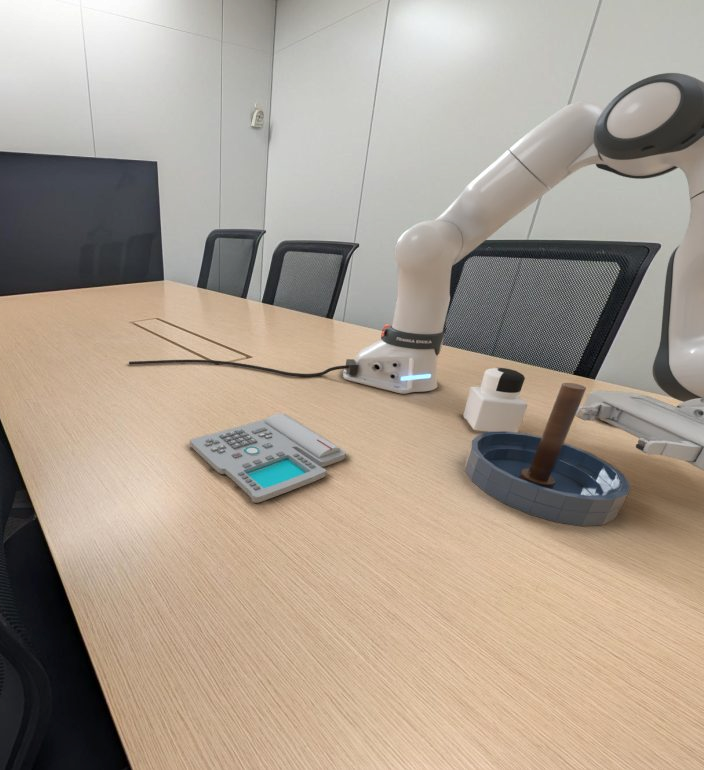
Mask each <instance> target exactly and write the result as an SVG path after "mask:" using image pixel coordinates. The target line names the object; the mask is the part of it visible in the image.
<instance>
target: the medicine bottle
mask: <svg viewBox="0 0 704 770" xmlns="http://www.w3.org/2000/svg"><path fill="white" fill-rule="evenodd" d="M525 379H526V377H525V375H524V374H523V373H521V372H519V371H517V370H514V369H511V368H507V367H492V368H488V369H485V370H484V373H483V377H482V379H481V383H480V386H474V385H473V386H471V387H470V390H469V393H468V396H467V399H466V403H465V407H464V411H463V414H462V417H463V419H464V420H466V421H467V422H468V424H469V425H470V427H471V428H472V430H474V431H481V432H498V431H508V432H518V433H519V431H520V428H521V425H522V423H523V419H524V416H525V413H526V411H527V408H528V403H527V402H526V401H525V400H524V399H523V398H521V397H520V394H521V392H522V388H523V385H524V383H525Z"/></svg>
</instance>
